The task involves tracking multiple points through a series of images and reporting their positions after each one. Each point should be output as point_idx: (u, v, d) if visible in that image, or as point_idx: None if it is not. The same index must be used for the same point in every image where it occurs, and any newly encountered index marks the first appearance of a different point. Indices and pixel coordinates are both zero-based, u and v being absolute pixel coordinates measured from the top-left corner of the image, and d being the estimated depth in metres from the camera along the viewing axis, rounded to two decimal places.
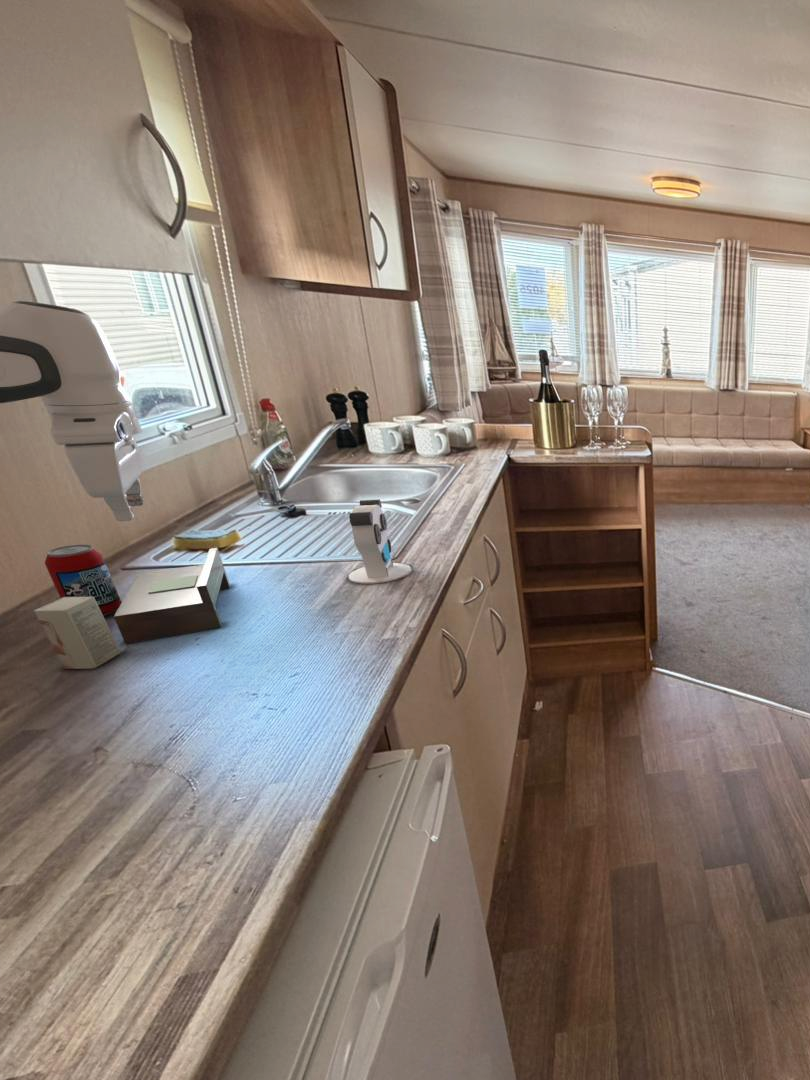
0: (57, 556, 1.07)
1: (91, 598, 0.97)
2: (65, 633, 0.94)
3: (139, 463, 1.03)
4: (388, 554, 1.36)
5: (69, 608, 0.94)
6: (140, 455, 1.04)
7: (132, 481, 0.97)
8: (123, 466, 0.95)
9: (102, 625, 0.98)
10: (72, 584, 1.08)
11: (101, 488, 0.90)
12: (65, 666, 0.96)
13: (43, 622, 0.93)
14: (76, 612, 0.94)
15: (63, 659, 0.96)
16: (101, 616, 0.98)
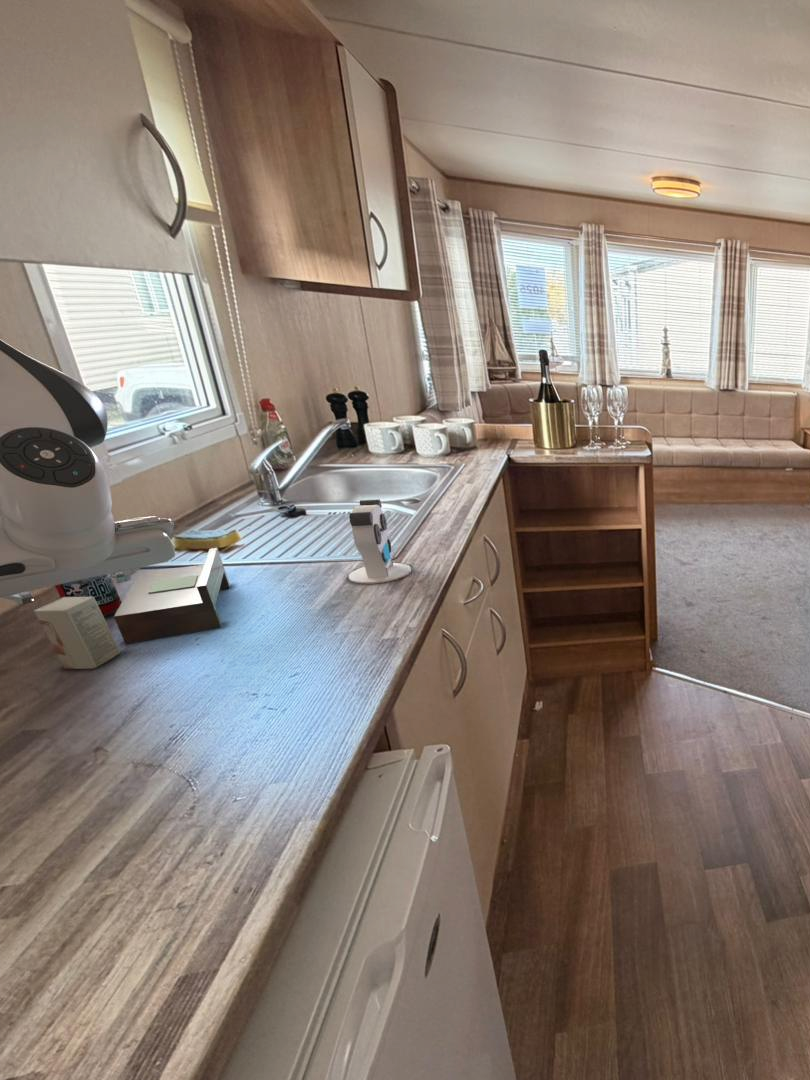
0: None
1: (91, 598, 0.97)
2: (65, 633, 0.94)
3: (138, 562, 0.87)
4: (388, 554, 1.36)
5: (69, 608, 0.94)
6: (163, 554, 0.89)
7: (51, 585, 0.81)
8: (27, 579, 0.78)
9: (102, 625, 0.98)
10: (73, 584, 1.08)
11: None
12: (65, 666, 0.96)
13: (43, 622, 0.93)
14: (76, 612, 0.94)
15: (63, 659, 0.96)
16: (101, 616, 0.98)
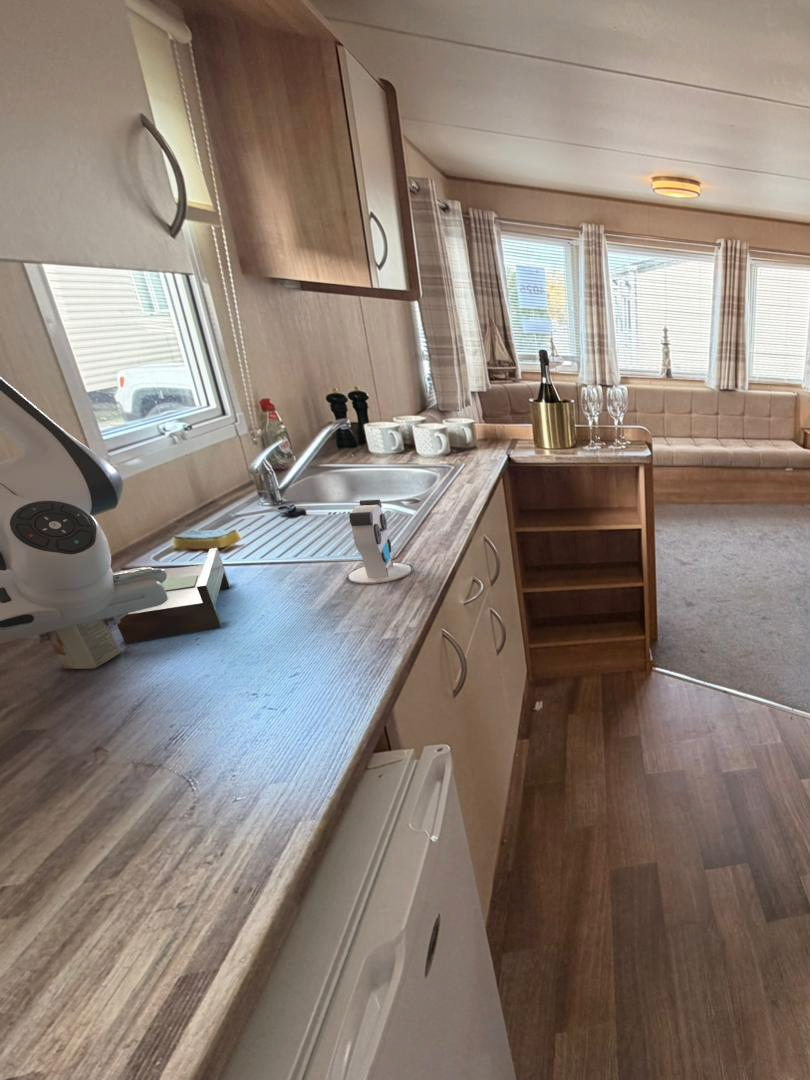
0: None
1: None
2: (65, 633, 0.94)
3: (134, 607, 0.97)
4: (388, 554, 1.36)
5: None
6: (156, 599, 0.99)
7: (56, 629, 0.92)
8: (35, 625, 0.89)
9: (102, 625, 0.98)
10: None
11: None
12: (65, 666, 0.96)
13: None
14: None
15: (63, 659, 0.96)
16: None
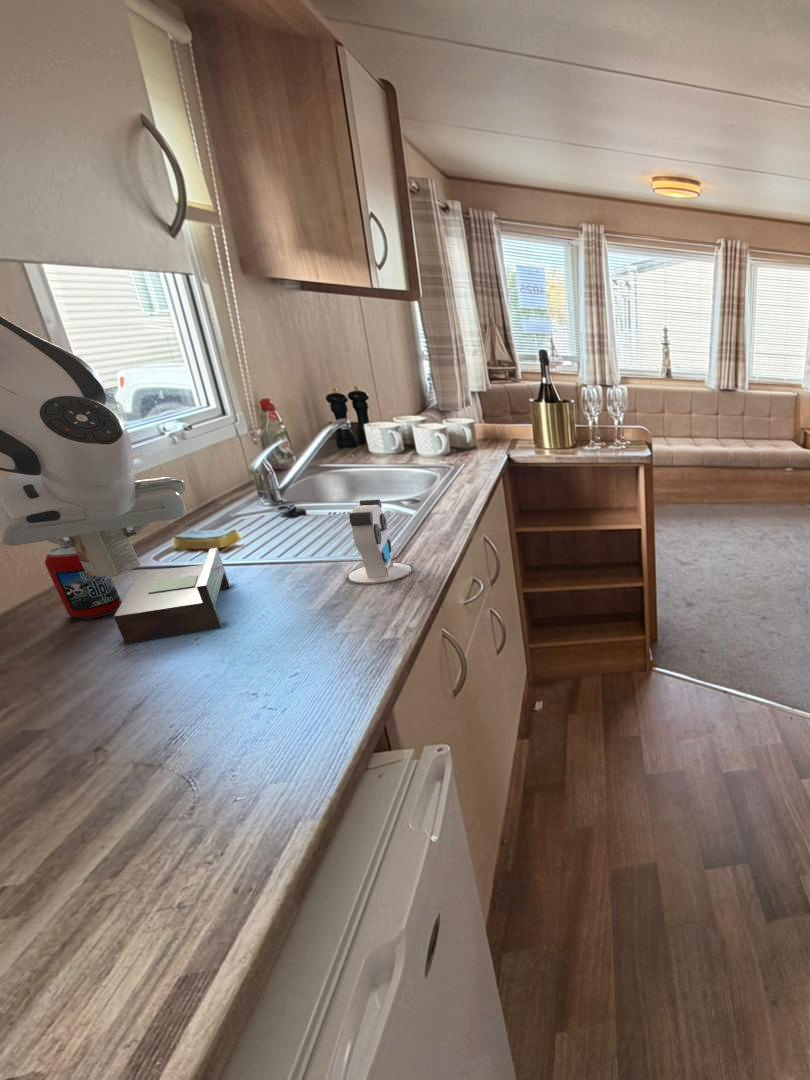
0: (57, 556, 1.07)
1: None
2: (88, 539, 0.98)
3: (153, 518, 1.01)
4: (388, 554, 1.36)
5: None
6: (175, 511, 1.03)
7: (80, 533, 0.95)
8: (60, 527, 0.92)
9: (123, 536, 1.02)
10: (73, 584, 1.08)
11: None
12: (88, 574, 1.00)
13: None
14: None
15: (86, 566, 0.99)
16: None
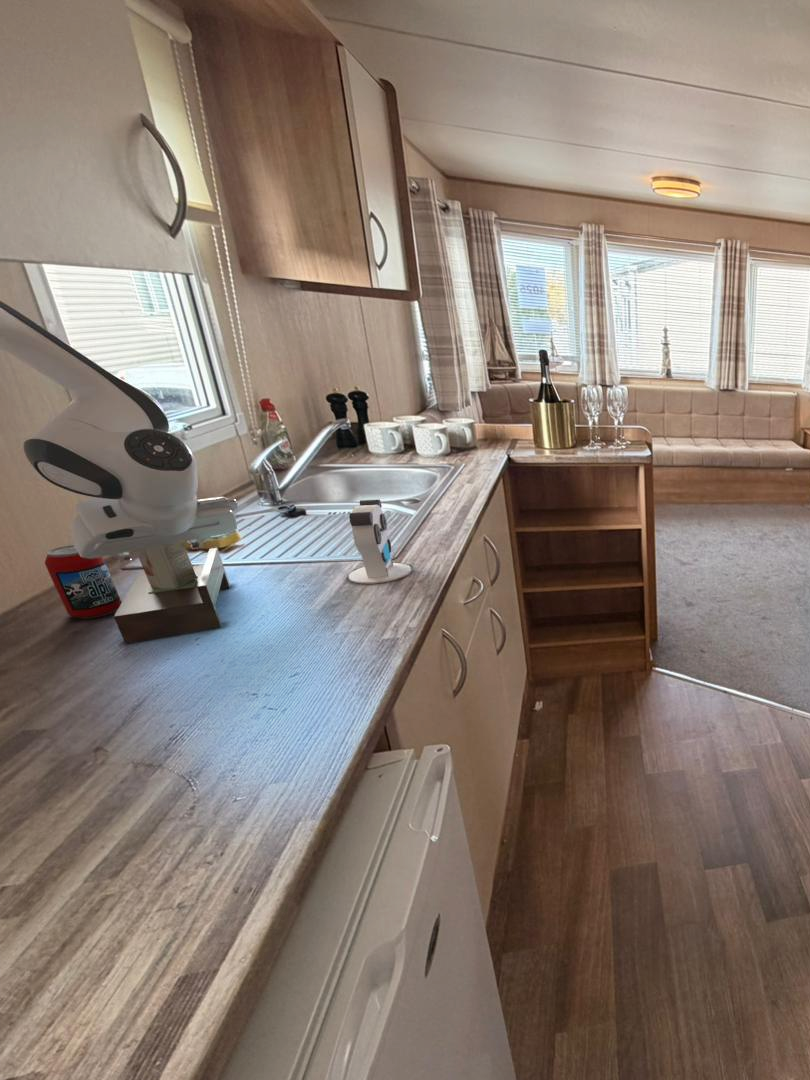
0: (57, 556, 1.07)
1: None
2: (154, 556, 1.09)
3: (209, 532, 1.12)
4: (388, 554, 1.36)
5: None
6: (228, 527, 1.14)
7: (147, 547, 1.07)
8: (131, 542, 1.04)
9: (183, 552, 1.14)
10: (73, 584, 1.08)
11: (75, 547, 1.00)
12: (152, 586, 1.12)
13: None
14: None
15: (151, 579, 1.11)
16: (182, 544, 1.13)
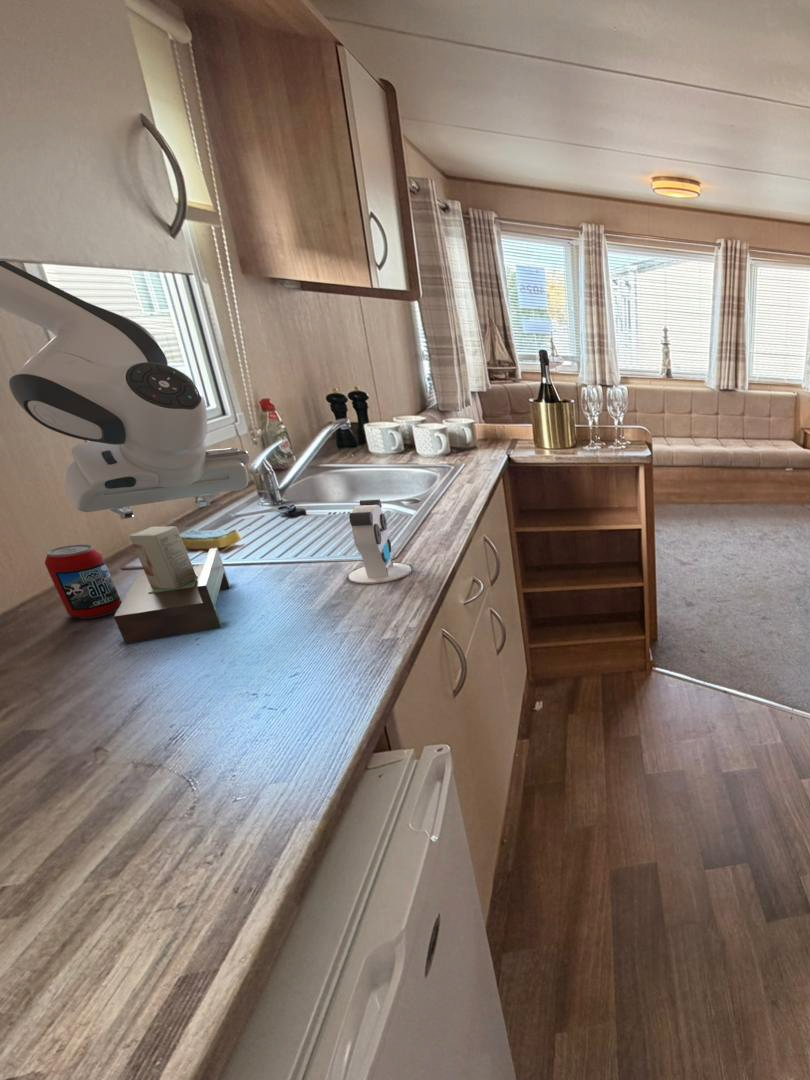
0: (57, 556, 1.07)
1: (175, 527, 1.12)
2: (154, 556, 1.09)
3: (218, 488, 1.03)
4: (388, 554, 1.36)
5: (158, 534, 1.09)
6: (239, 482, 1.04)
7: (150, 502, 0.97)
8: (133, 494, 0.94)
9: (183, 552, 1.14)
10: (73, 584, 1.08)
11: (70, 498, 0.90)
12: (152, 586, 1.12)
13: (136, 546, 1.08)
14: (163, 538, 1.10)
15: (151, 579, 1.11)
16: (182, 544, 1.13)
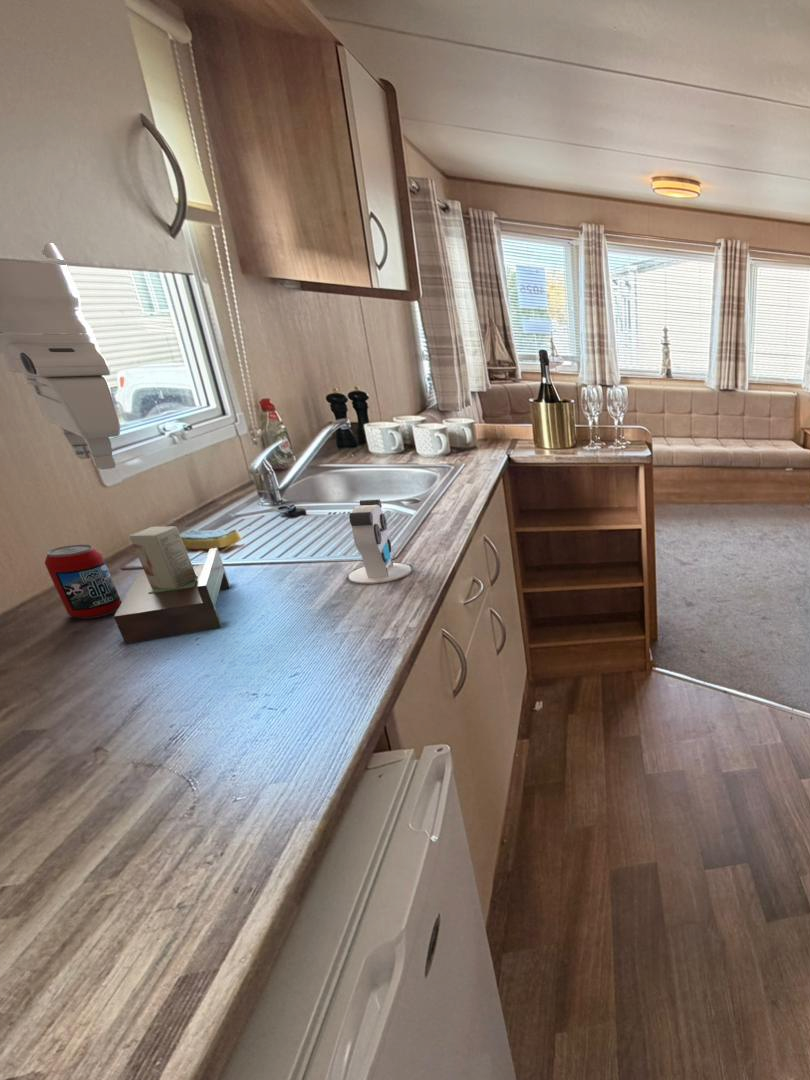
0: (57, 556, 1.07)
1: (175, 527, 1.12)
2: (154, 556, 1.09)
3: None
4: (388, 554, 1.36)
5: (158, 534, 1.09)
6: None
7: None
8: None
9: (183, 552, 1.14)
10: (73, 584, 1.08)
11: (98, 427, 0.81)
12: (152, 586, 1.12)
13: (136, 546, 1.08)
14: (163, 538, 1.10)
15: (151, 579, 1.11)
16: (182, 544, 1.13)
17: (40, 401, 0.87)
